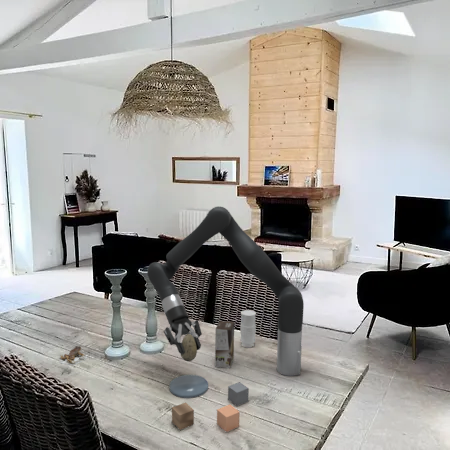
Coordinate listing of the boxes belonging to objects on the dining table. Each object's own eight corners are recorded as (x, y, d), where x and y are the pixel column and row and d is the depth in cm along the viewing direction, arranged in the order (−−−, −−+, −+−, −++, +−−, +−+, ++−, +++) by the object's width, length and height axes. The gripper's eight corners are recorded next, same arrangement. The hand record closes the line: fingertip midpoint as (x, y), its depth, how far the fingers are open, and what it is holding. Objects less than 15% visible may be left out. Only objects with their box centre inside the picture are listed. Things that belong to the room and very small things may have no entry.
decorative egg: (190, 366, 147) (190, 339, 145) (176, 361, 150) (176, 335, 148) (200, 359, 152) (200, 333, 150) (186, 355, 155) (186, 329, 153)
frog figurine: (68, 351, 182) (68, 342, 181) (93, 354, 178) (92, 346, 178) (51, 363, 171) (50, 354, 170) (76, 367, 167) (76, 358, 167)
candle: (237, 346, 186) (238, 314, 184) (243, 340, 193) (243, 309, 191) (252, 349, 184) (253, 316, 182) (257, 342, 190) (258, 311, 188)
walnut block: (185, 416, 135) (185, 402, 134) (193, 424, 131) (193, 409, 130) (172, 422, 132) (171, 407, 131) (179, 430, 128) (179, 415, 127)
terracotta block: (229, 418, 134) (229, 404, 134) (239, 426, 130) (239, 411, 130) (216, 424, 131) (217, 409, 131) (226, 432, 127) (226, 417, 127)
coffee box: (230, 368, 167) (230, 330, 164) (214, 366, 168) (214, 328, 165) (234, 358, 175) (234, 321, 173) (219, 356, 177) (219, 320, 174)
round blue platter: (212, 380, 157) (212, 377, 157) (201, 400, 144) (201, 397, 144) (177, 375, 161) (177, 372, 161) (163, 394, 147) (163, 391, 147)
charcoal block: (239, 395, 148) (239, 381, 147) (248, 401, 144) (248, 388, 143) (228, 399, 145) (228, 386, 144) (236, 406, 141) (237, 392, 140)
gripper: (160, 308, 150) (177, 352, 142) (194, 301, 158) (212, 342, 151) (154, 318, 155) (169, 360, 147) (187, 310, 163) (203, 350, 156)
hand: (191, 351), depth 149 cm, fingers closed on decorative egg, 6 cm apart
